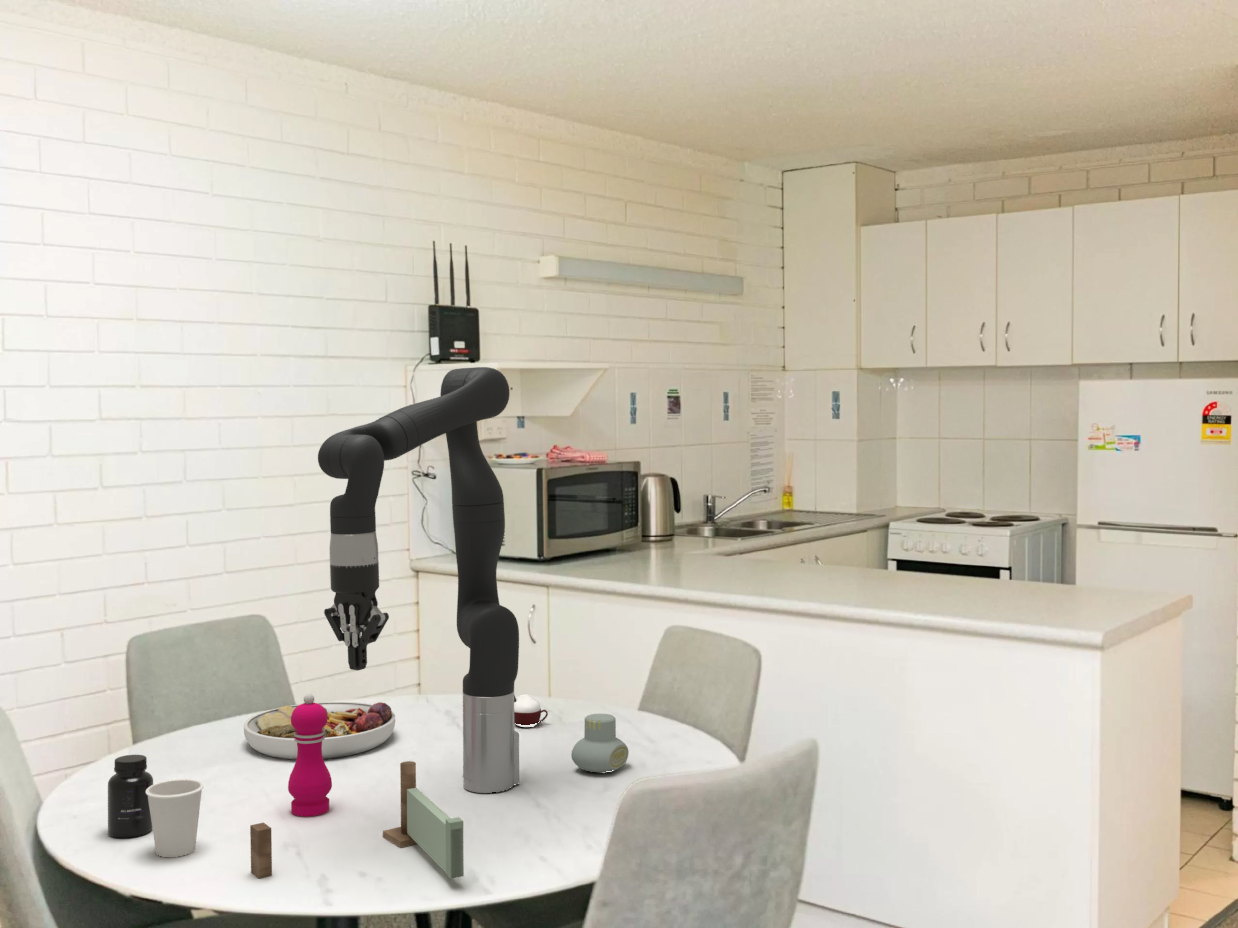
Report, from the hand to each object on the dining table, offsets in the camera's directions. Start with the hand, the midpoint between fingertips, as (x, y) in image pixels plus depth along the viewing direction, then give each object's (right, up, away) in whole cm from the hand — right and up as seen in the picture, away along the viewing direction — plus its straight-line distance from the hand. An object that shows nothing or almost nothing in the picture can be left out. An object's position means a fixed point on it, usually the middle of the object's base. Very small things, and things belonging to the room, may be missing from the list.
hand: (357, 668), depth 192 cm
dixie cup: (-27, -27, -6) cm, 39 cm away
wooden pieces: (-1, -27, -7) cm, 28 cm away
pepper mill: (-11, -26, +13) cm, 31 cm away
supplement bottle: (-37, -27, +3) cm, 46 cm away
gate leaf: (+14, -26, -11) cm, 31 cm away
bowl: (-19, -25, +55) cm, 64 cm away
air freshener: (+38, -25, +36) cm, 58 cm away
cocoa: (+21, -24, +68) cm, 75 cm away
